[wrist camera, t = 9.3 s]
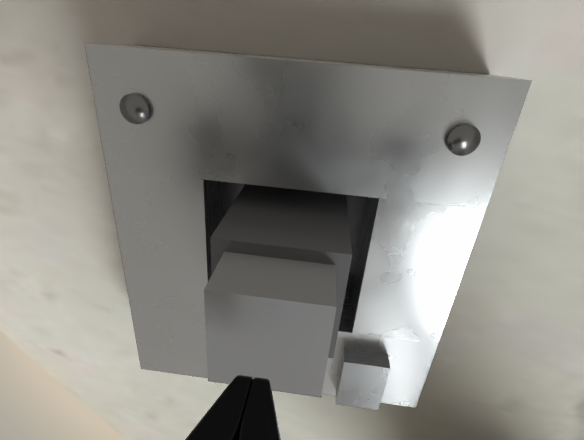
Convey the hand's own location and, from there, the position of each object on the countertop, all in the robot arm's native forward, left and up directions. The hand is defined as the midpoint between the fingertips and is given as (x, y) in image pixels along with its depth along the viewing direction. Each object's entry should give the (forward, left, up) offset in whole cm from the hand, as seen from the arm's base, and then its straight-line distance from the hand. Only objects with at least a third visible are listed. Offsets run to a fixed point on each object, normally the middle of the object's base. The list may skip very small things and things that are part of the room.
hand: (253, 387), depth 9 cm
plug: (0, 0, -8) cm, 8 cm away
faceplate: (0, 0, -9) cm, 9 cm away
